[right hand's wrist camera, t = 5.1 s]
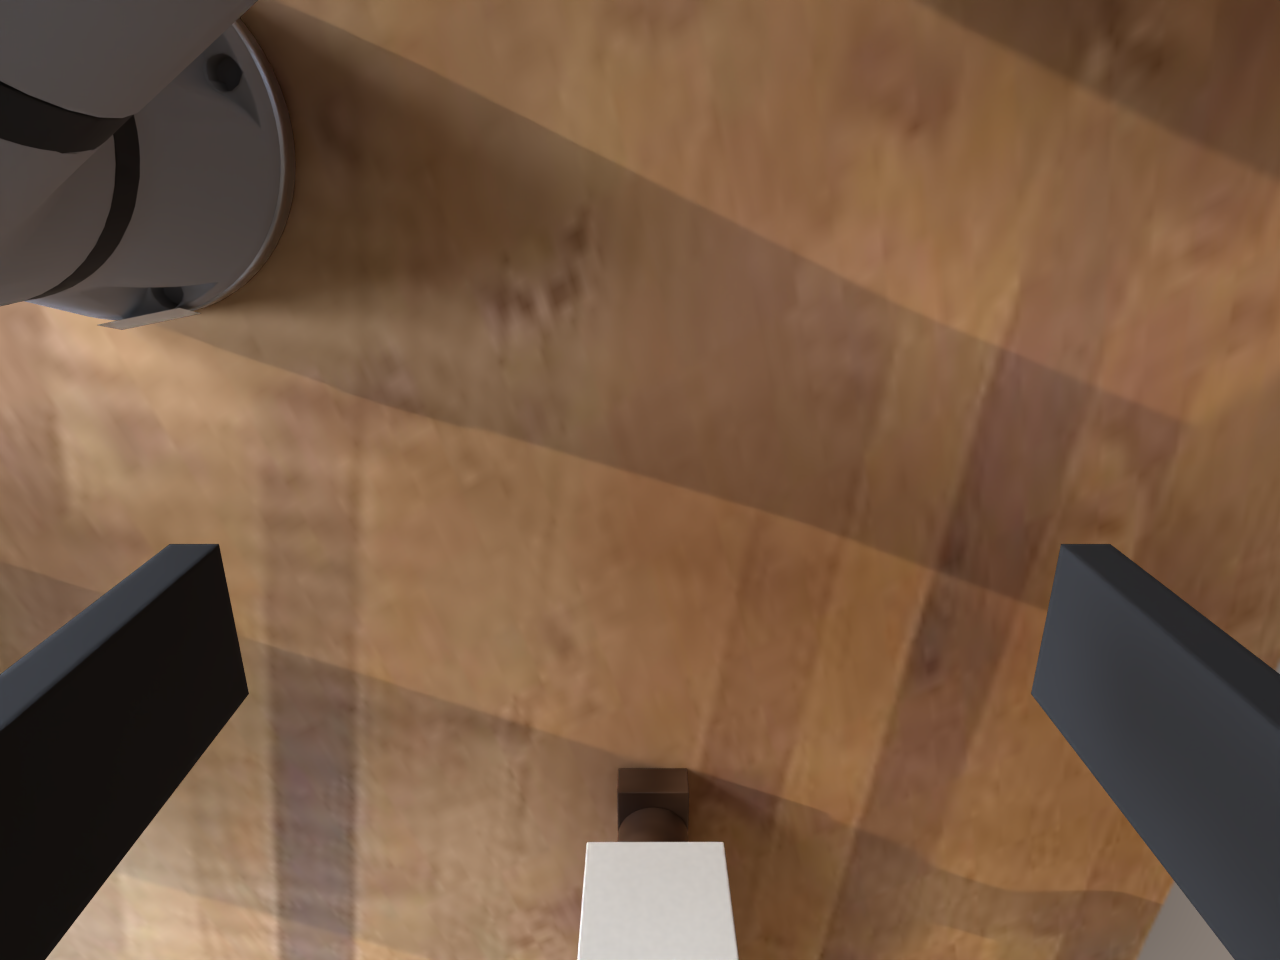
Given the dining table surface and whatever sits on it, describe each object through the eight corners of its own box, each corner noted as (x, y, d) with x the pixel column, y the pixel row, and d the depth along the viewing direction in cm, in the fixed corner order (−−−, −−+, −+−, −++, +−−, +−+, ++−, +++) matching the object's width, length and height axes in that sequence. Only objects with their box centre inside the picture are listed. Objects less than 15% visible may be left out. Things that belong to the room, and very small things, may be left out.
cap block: (589, 942, 43) (580, 1078, 37) (586, 841, 41) (576, 967, 34) (719, 942, 43) (733, 1078, 37) (724, 840, 41) (740, 967, 34)
